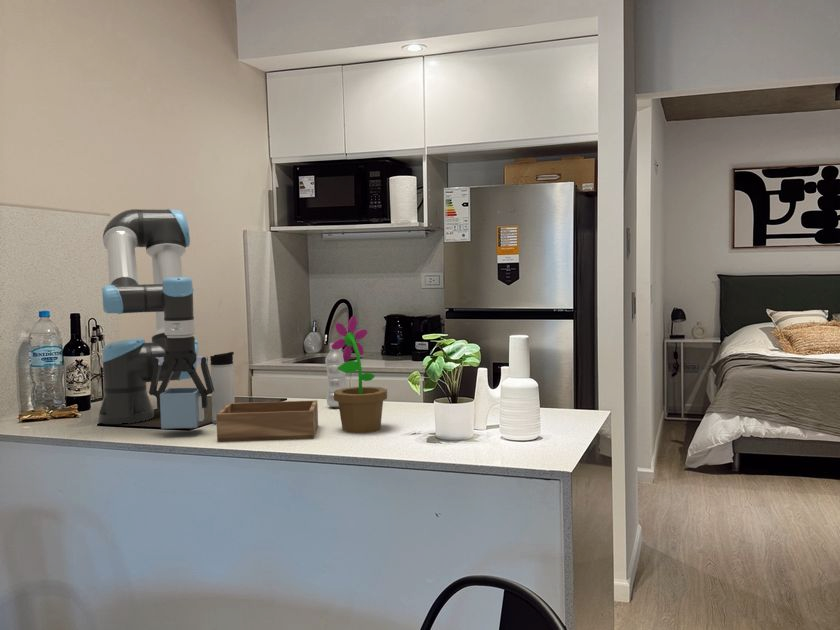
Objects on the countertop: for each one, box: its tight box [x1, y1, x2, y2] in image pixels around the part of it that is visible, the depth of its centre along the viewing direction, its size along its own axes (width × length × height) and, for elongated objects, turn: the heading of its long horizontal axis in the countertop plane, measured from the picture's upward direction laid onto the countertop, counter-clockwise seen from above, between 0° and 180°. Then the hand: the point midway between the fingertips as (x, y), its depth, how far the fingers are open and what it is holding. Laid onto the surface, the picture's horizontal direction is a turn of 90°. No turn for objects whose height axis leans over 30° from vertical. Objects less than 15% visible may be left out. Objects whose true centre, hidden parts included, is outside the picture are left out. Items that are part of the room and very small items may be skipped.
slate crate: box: [159, 387, 205, 430], centre depth 204 cm, size 9×9×9 cm
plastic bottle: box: [324, 342, 347, 409], centre depth 237 cm, size 6×7×20 cm
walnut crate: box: [216, 399, 319, 443], centre depth 202 cm, size 16×24×7 cm, turn 93°
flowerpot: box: [332, 315, 388, 434], centre depth 205 cm, size 14×14×30 cm
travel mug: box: [209, 351, 236, 425], centre depth 218 cm, size 6×7×20 cm
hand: (183, 420), depth 204 cm, fingers closed on slate crate, 9 cm apart
